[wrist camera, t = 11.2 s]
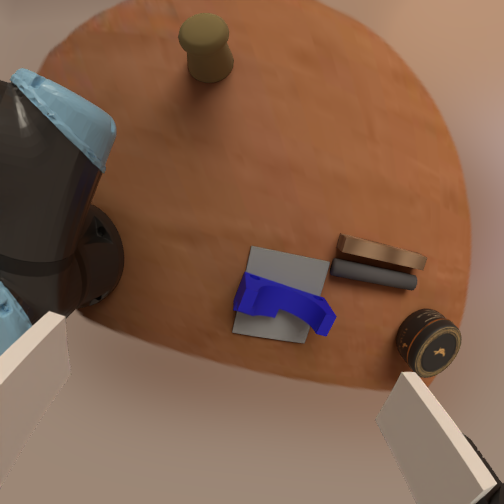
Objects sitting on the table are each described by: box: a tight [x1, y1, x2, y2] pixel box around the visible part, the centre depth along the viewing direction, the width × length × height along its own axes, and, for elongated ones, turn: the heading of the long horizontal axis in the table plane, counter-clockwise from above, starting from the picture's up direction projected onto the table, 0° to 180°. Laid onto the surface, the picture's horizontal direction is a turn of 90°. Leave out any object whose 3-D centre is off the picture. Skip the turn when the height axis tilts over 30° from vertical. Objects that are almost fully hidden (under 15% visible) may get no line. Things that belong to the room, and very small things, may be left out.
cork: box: [178, 13, 234, 83], centre depth 29 cm, size 6×6×11 cm
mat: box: [232, 246, 330, 343], centre depth 42 cm, size 11×13×1 cm
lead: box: [330, 258, 417, 290], centre depth 42 cm, size 14×2×2 cm
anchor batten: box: [337, 233, 427, 270], centre depth 40 cm, size 14×2×2 cm, turn 78°
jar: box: [396, 309, 461, 378], centre depth 42 cm, size 10×10×8 cm
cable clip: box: [233, 272, 336, 336], centre depth 39 cm, size 12×4×6 cm, turn 70°
